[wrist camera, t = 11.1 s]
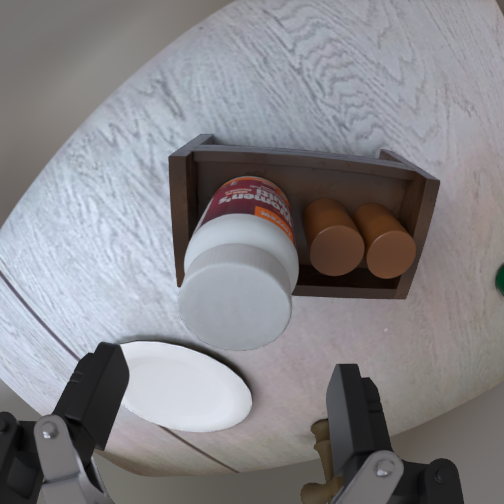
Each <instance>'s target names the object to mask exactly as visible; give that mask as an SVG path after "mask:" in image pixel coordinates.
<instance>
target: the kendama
mask: <svg viewBox="0 0 504 504" xmlns="http://www.w3.org/2000/svg"><path fill="white" fill-rule="evenodd" d="M311 431H312V433H313V434H315V436H316V444H315V445H314V449H315V450H316V451H318V453H319V455H320V458H321V461H322V465H323V469H324V474H325V480H326V484H318V483H308V484H306V485H304V486H303V488H302V490H301V500H302V502H303V504H326V503H327V502H328V504H329V503H330V502H331V500H332V499H333V498H334V496H335V495H336V494H337V492H338V491H339V490H340V488H341V487H342V485H343V484H344V483H343V476H337V477H334V471H333V460H332V450H331V440H330V430H329V421H328V420H323V421H319V422H317V423H315V424H314V425H313V426H312V427H311Z"/></svg>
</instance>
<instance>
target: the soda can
mask: <svg viewBox="0 0 504 504" xmlns="http://www.w3.org/2000/svg"><path fill="white" fill-rule="evenodd" d="M496 287H497V289H498V290H499V292H500V293H501V294H502V295H503V296H504V265H503V266H502V267H501V269H500V270H499V272H498V274H497V278H496Z"/></svg>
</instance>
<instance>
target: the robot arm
mask: <svg viewBox="0 0 504 504" xmlns="http://www.w3.org/2000/svg"><path fill="white" fill-rule="evenodd" d="M129 377H130V373H129V368H128V365H127V362H126V359H125V356H124V354H123V351H122V348H121V346H120V345H118V344H112V343H107V342H100V343H99V345H98V346H97V348H96V350H95V352H94V353H88V354H86V355H85V356H84V357H83V358H82V359H81V360H80V361H79V362H78V364H77V366H76V368H75V370H74V373H73V374H72V376H71V377H70V379H69V380H70V381H69V382H68V383H67V385H66V387H65V389H64V391H63V393H62V395H61V397H60V399H59V401H58V403H57V405H56V407H55V409H54V411H53V412H52V414H51V415H45V416H43V417H41V418H40V419H39V420H38V421H37V422H34V421H17V420H16V418H15V417H14V416H13V415H12V414H11V413H9V412H0V504H36V503H37V499H38V496H39V492H40V489H41V491H42V494H43V498H44V501H45V504H115V503H114V502H113V501H112V499H111V498H110V496H109V494H108V492H107V490H106V488H105V485H104V483H103V481H102V478H101V476H100V473H99V471H98V468H97V466H96V463H95V461H94V458H93V456H92V454H93V451H94V448H95V449H99V450H102V451H104V449H105V446H106V443H107V440H108V438H109V435H110V432H111V429H112V426H113V424H114V421H115V418H116V415H117V413H118V410H119V407H120V404H121V402H122V399H123V396H124V394H125V391H126V389H127V386H128V383H129ZM326 404H327V413H328V421H329V430H330V440H331V450H332V460H333V471H334V477H337V476H343V483H344V484H343V485H342V487H341V488H340V490H339V491H338V492H337V494H336V495H335V496H334V498H333V499H332V500H331V502H330V503H329V504H464V500H463V494H462V489H461V483H460V479H459V474H458V470H457V467H456V466H455V464H453V462H451V461H450V460H448V459H443V458H440V459H436V460H434V461H432V462H431V463H430V464H420V463H413V462H407V461H404V460H402V459H401V458H399V456H398V455H396V454H395V453H394V451H393V449H392V447H391V443H390V438H389V434H388V430H387V425H386V421H385V417H384V413H383V408H382V404H381V402H380V396H379V393H378V389H377V387H376V386H375V384H374V383H373V382H372V380H371V379H370V378H369V377H366V378H361V375H360V371H359V367H358V365H357V364H336V366H335V368H334V371H333V374H332V377H331V380H330V382H329V385H328V388H327V393H326ZM44 478H45V481H44V482H43V479H44ZM42 482H43V483H42Z"/></svg>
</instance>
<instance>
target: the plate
mask: <svg viewBox="0 0 504 504" xmlns="http://www.w3.org/2000/svg"><path fill="white" fill-rule="evenodd" d="M119 345H120V346H121V348H122V351H123V354H124V356H125V359H126V362H127V365H128V368H129V373H130V377H129V383H128V386H127V389H126V391H125V394H124V396H123V399H122V402H121V404H122V405H123V406H124V407H126V408H127V409H129V410H130V411H132V412H133V413H134V414H136V415H138V416H140V417H142V418H144V419H146V420H148V421H150V422H152V423H155V424H158V425H161V426H164V427H167V428H171V429H175V430H180V431H187V432H213V431H219V430H223V429H226V428H230V427H232V426H234V425H236V424H238V423H240V422H241V421H243V420H244V418H245V417H246V416H247V415H248V414H249V413H250V410H251V406H252V403H253V402H252V397H251V392H250V389H249V388H248V386H247V385H246V384H245V382H244V381H243V379H242V378H241V377H240V376H239V375H238V374H236V373H235V372H234V371H233V370H232V369H230V368H229V367H228V366H227V365H225V364H223V363H222V362H220V361H218V360H216V359H214V358H212V357H211V356H209V355H207V354H205V353H202V352H199V351H196V350H193V349H191V348H188V347H185V346H182V345H177V344H172V343H167V342H162V341H143V340H136V341H132V342H127V343H122V344H119Z"/></svg>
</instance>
